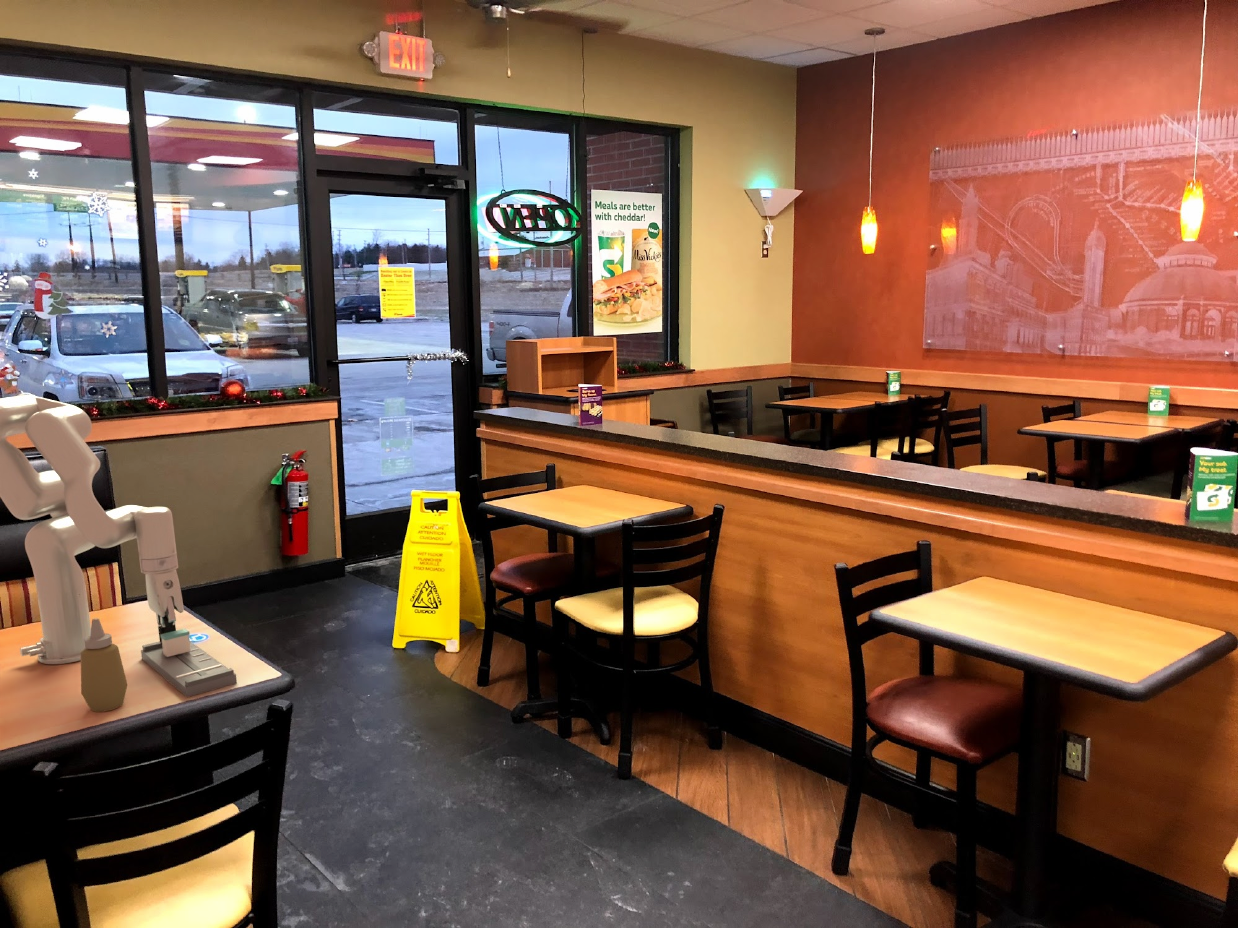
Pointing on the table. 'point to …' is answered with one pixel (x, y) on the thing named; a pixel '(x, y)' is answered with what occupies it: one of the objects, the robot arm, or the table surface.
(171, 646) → the fader knob
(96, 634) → the squeeze bottle
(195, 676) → the console board
